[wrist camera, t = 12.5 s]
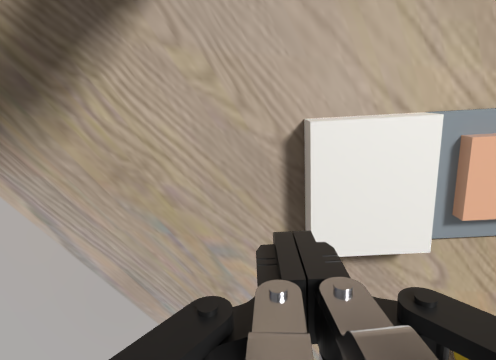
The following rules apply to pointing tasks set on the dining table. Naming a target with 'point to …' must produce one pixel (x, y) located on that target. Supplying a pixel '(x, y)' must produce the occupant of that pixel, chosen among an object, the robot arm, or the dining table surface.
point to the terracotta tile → (476, 178)
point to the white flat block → (372, 182)
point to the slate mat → (447, 172)
